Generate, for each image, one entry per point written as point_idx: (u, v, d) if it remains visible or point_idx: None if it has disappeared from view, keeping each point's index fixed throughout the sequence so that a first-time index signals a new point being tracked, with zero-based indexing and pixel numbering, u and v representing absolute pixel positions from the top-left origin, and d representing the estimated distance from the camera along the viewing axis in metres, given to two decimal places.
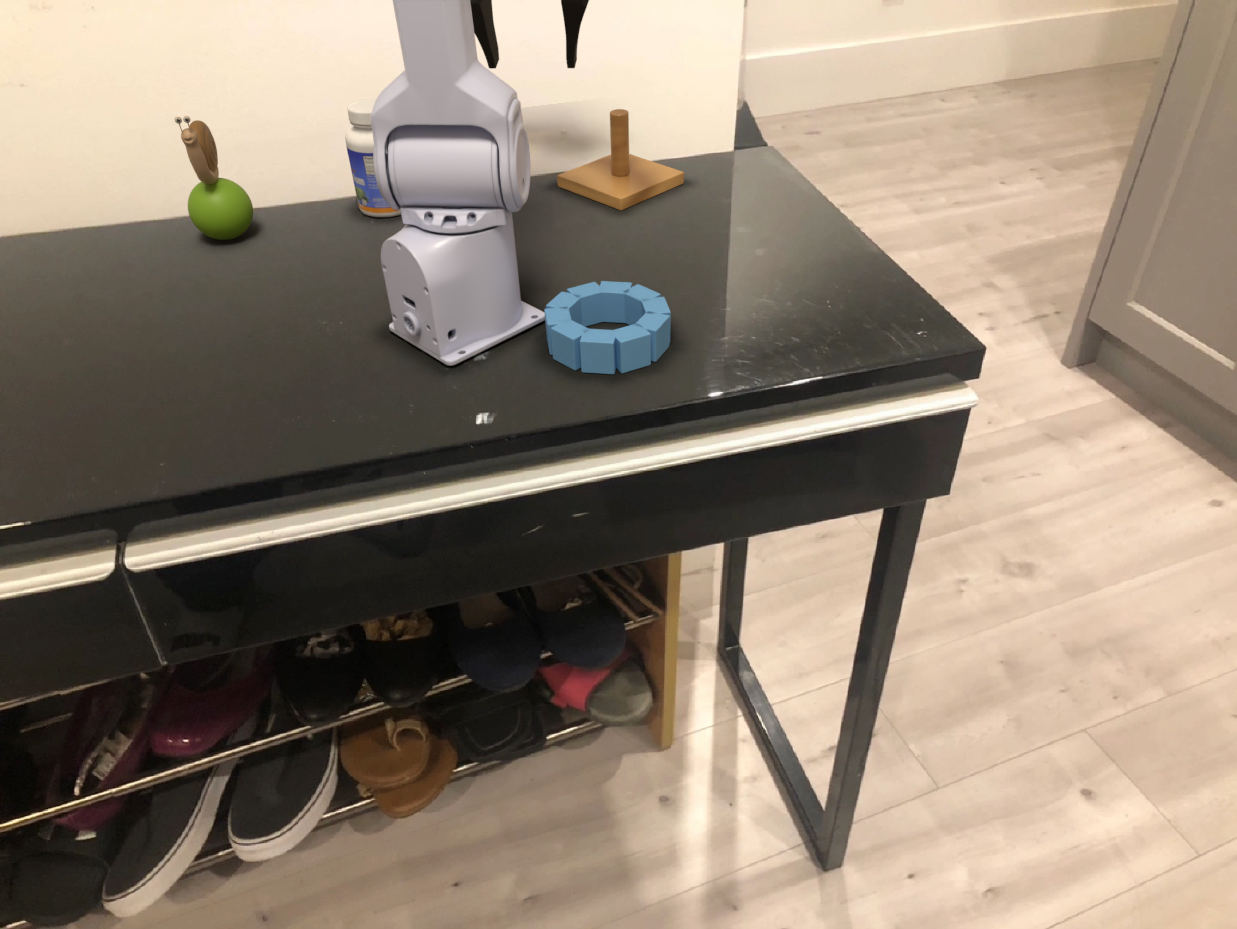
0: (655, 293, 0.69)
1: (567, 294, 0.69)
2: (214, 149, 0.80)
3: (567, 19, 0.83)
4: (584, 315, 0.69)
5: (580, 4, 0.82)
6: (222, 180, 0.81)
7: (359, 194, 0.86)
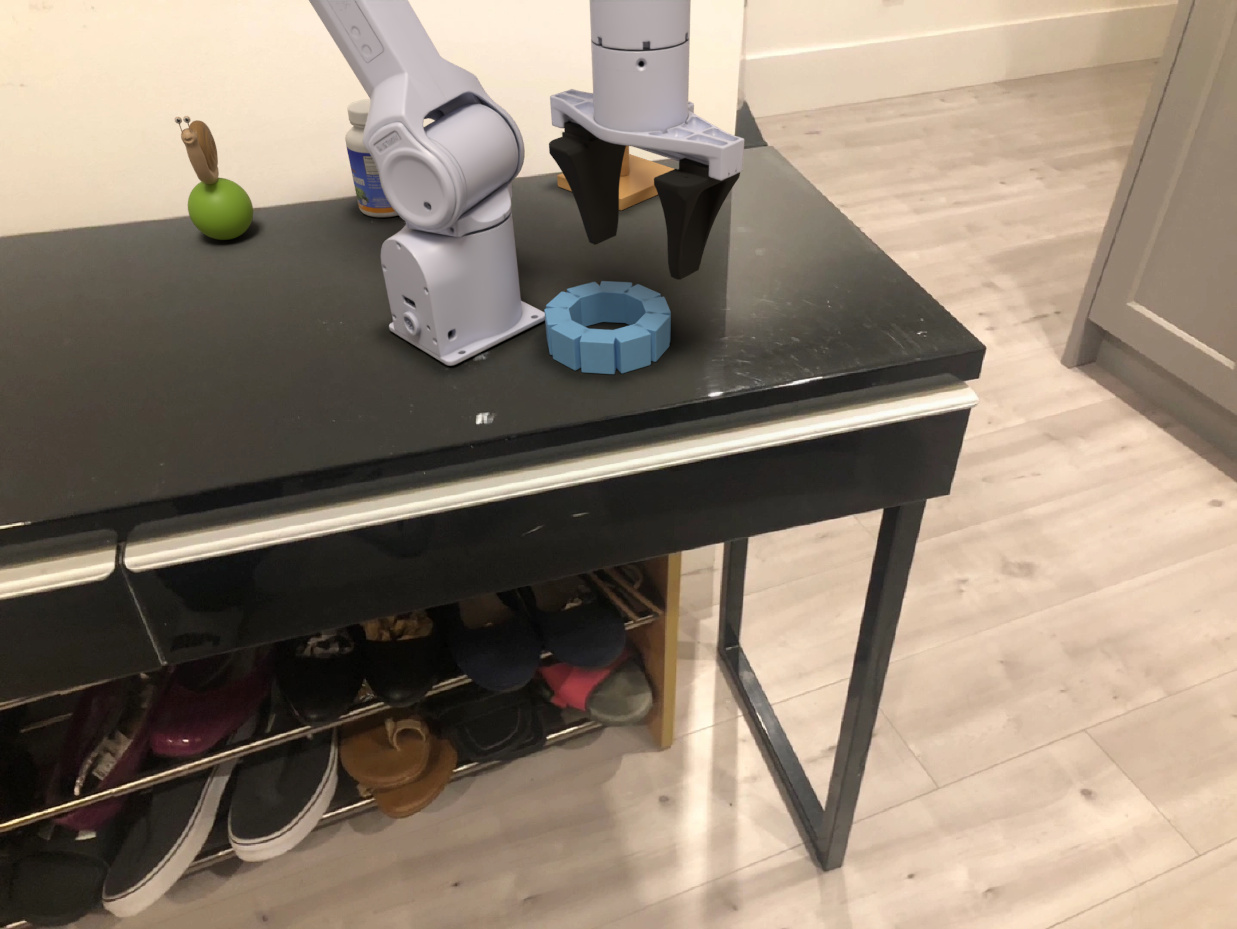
0: (655, 293, 0.69)
1: (567, 294, 0.69)
2: (214, 149, 0.80)
3: (666, 210, 0.55)
4: (584, 315, 0.69)
5: (676, 194, 0.53)
6: (222, 180, 0.81)
7: (359, 194, 0.86)
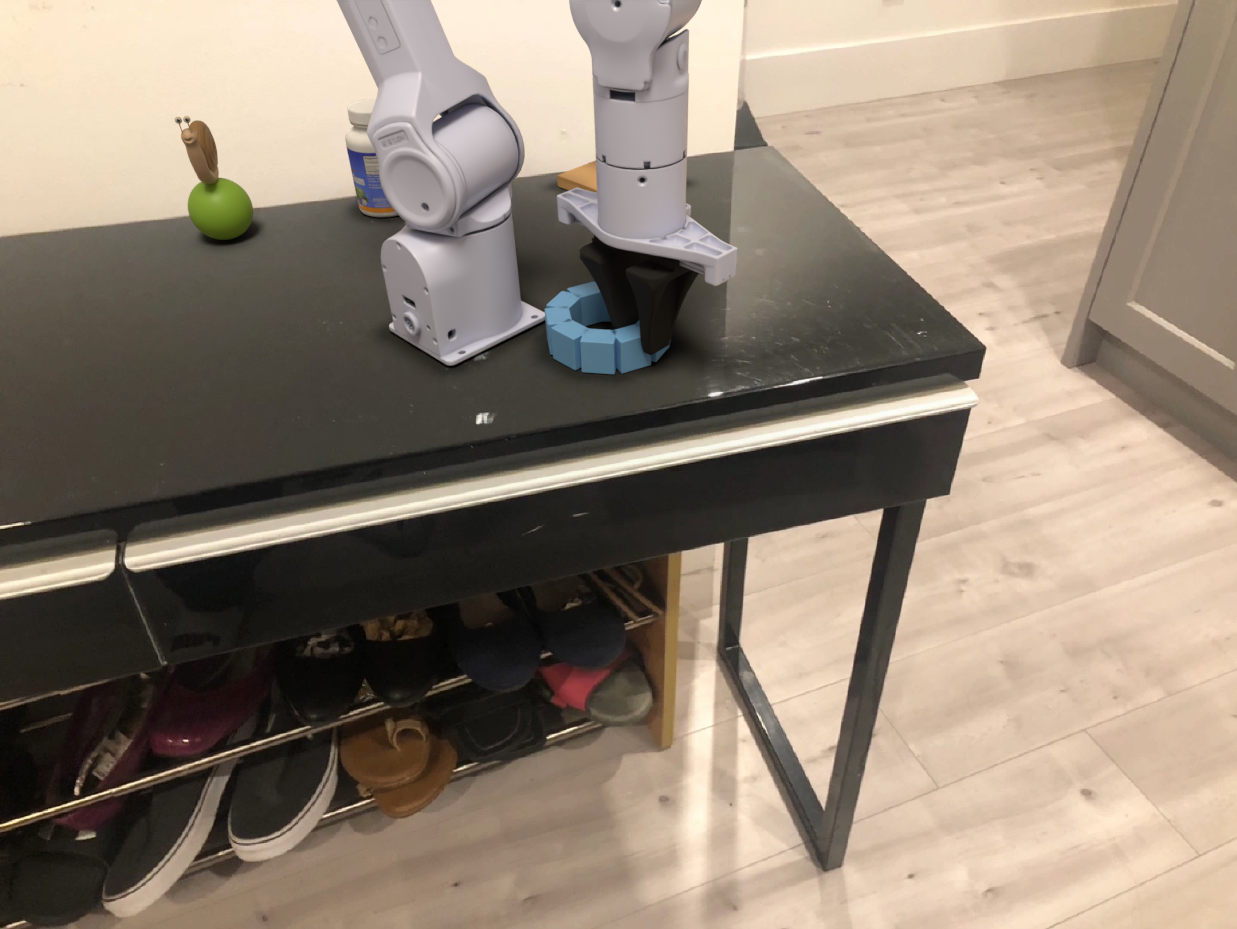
0: None
1: (567, 294, 0.69)
2: (214, 149, 0.80)
3: (637, 296, 0.60)
4: (585, 315, 0.69)
5: (646, 285, 0.58)
6: (222, 180, 0.81)
7: (359, 194, 0.86)
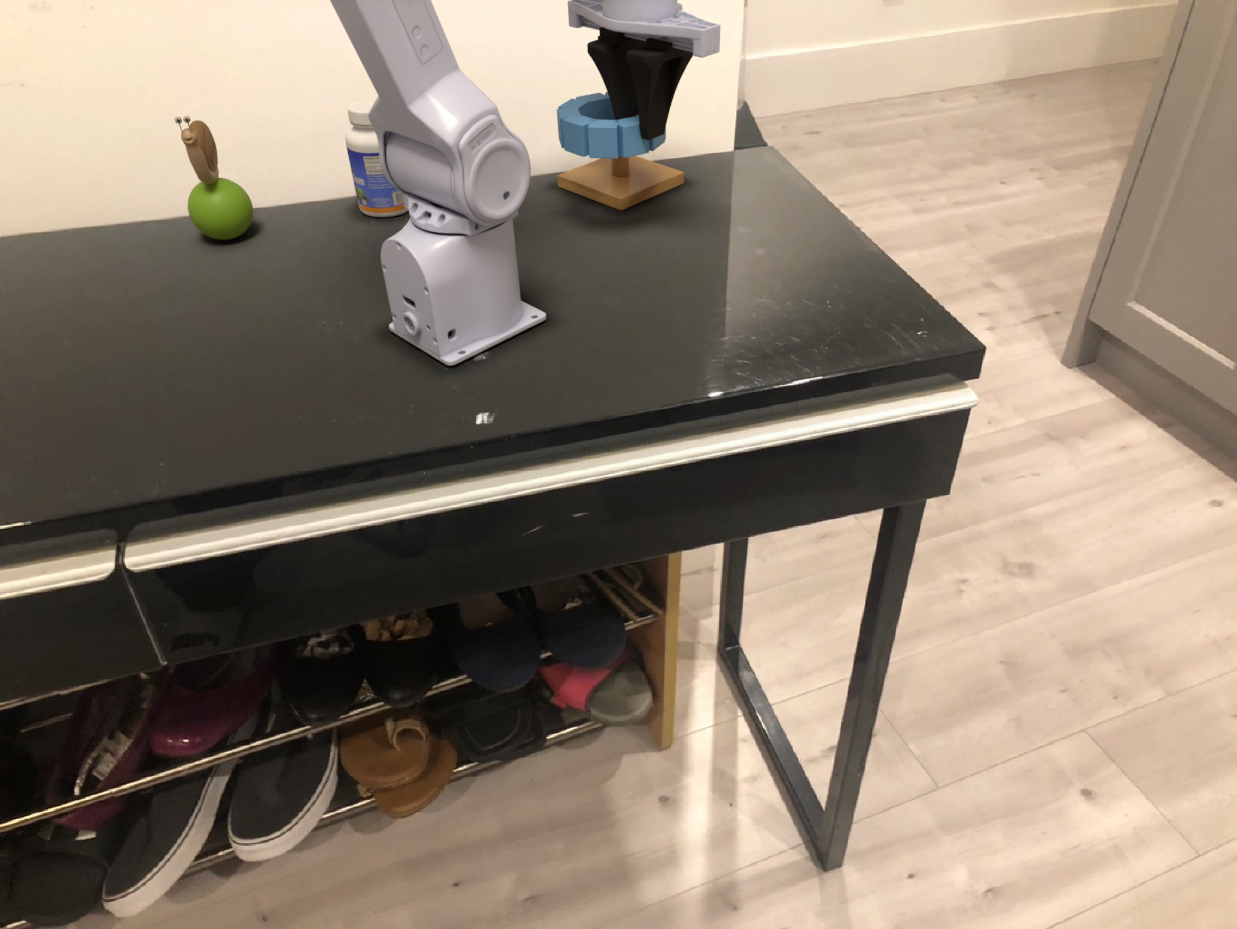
0: None
1: (576, 100, 0.79)
2: (214, 149, 0.80)
3: (636, 79, 0.71)
4: None
5: (643, 62, 0.69)
6: (222, 180, 0.81)
7: (359, 194, 0.86)
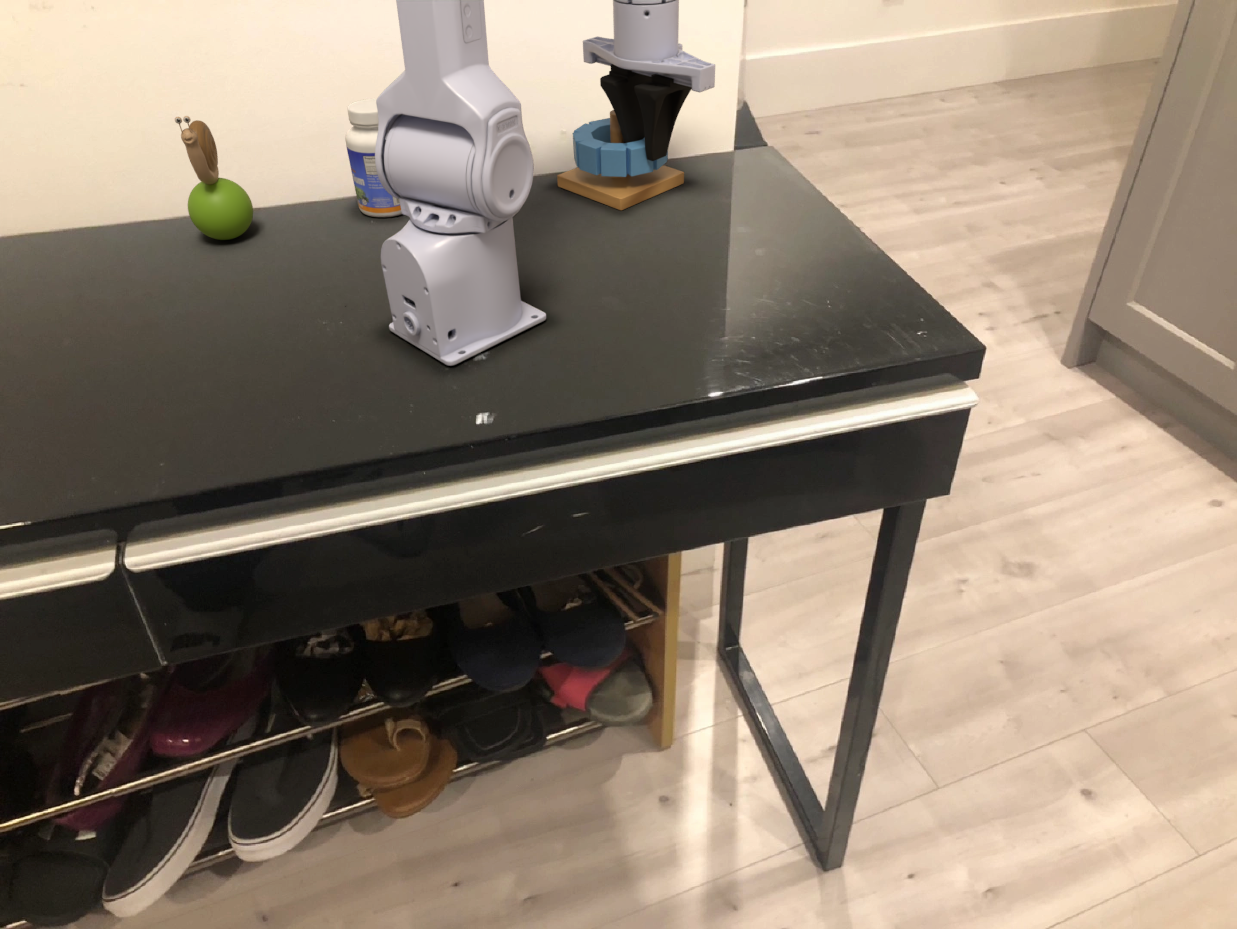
0: None
1: (589, 124, 0.90)
2: (214, 149, 0.80)
3: (643, 109, 0.82)
4: (602, 142, 0.91)
5: (649, 96, 0.80)
6: (222, 180, 0.81)
7: (359, 194, 0.86)
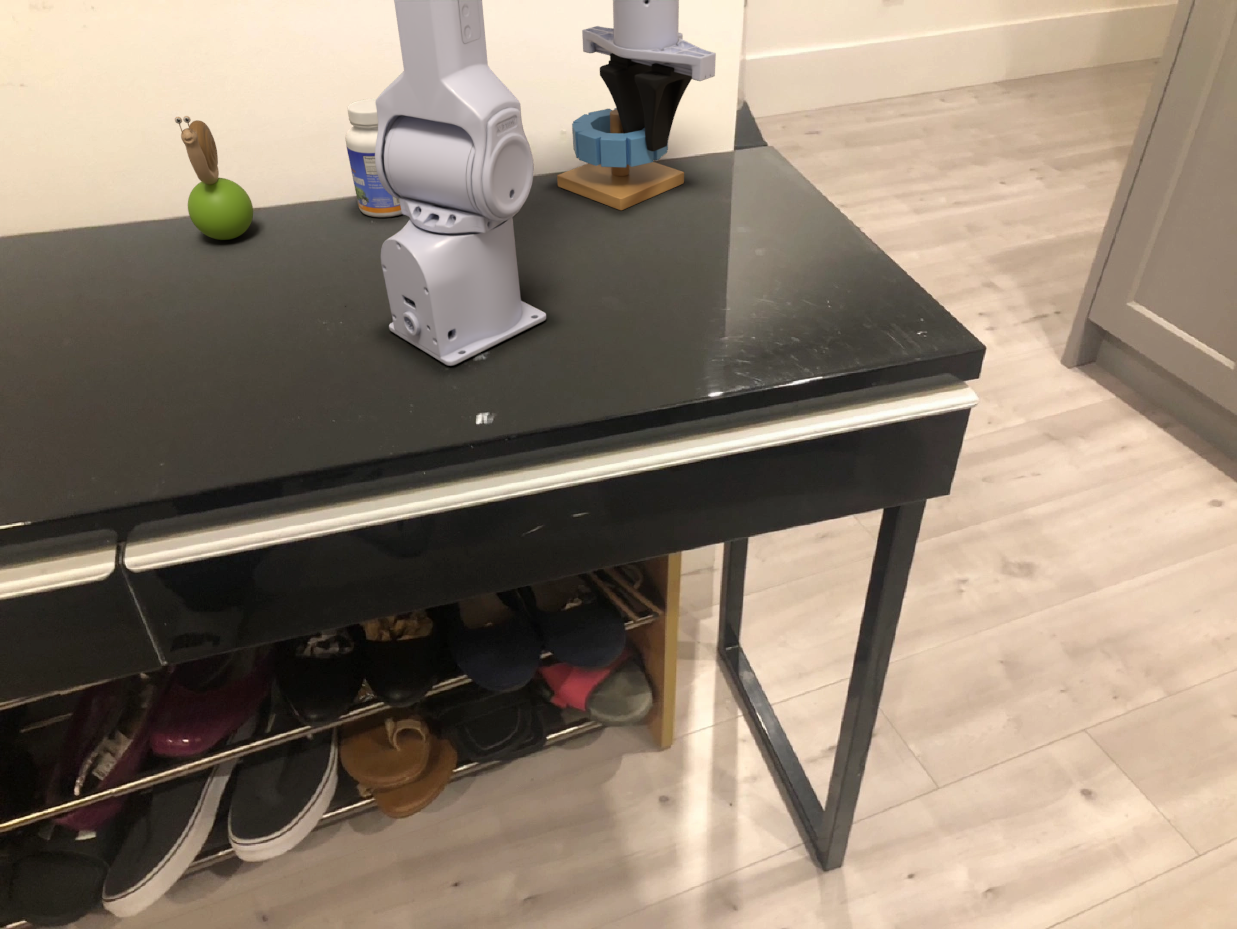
0: None
1: (588, 115, 0.90)
2: (214, 149, 0.80)
3: (643, 98, 0.82)
4: None
5: (649, 85, 0.79)
6: (222, 180, 0.81)
7: (359, 194, 0.86)
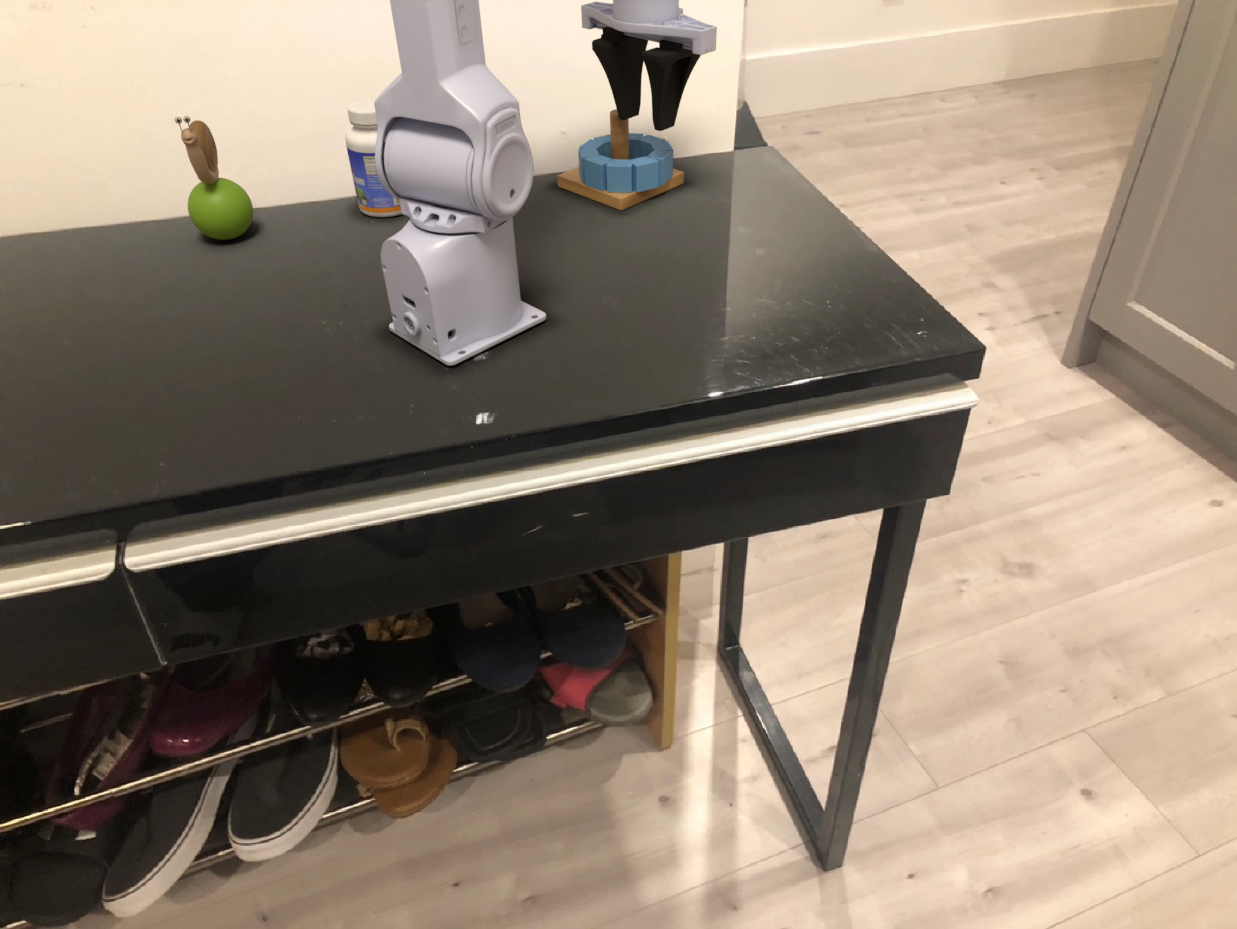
0: (661, 139, 0.91)
1: (594, 140, 0.91)
2: (214, 149, 0.80)
3: (650, 76, 0.80)
4: (607, 157, 0.92)
5: (657, 61, 0.78)
6: (222, 180, 0.81)
7: (359, 194, 0.86)
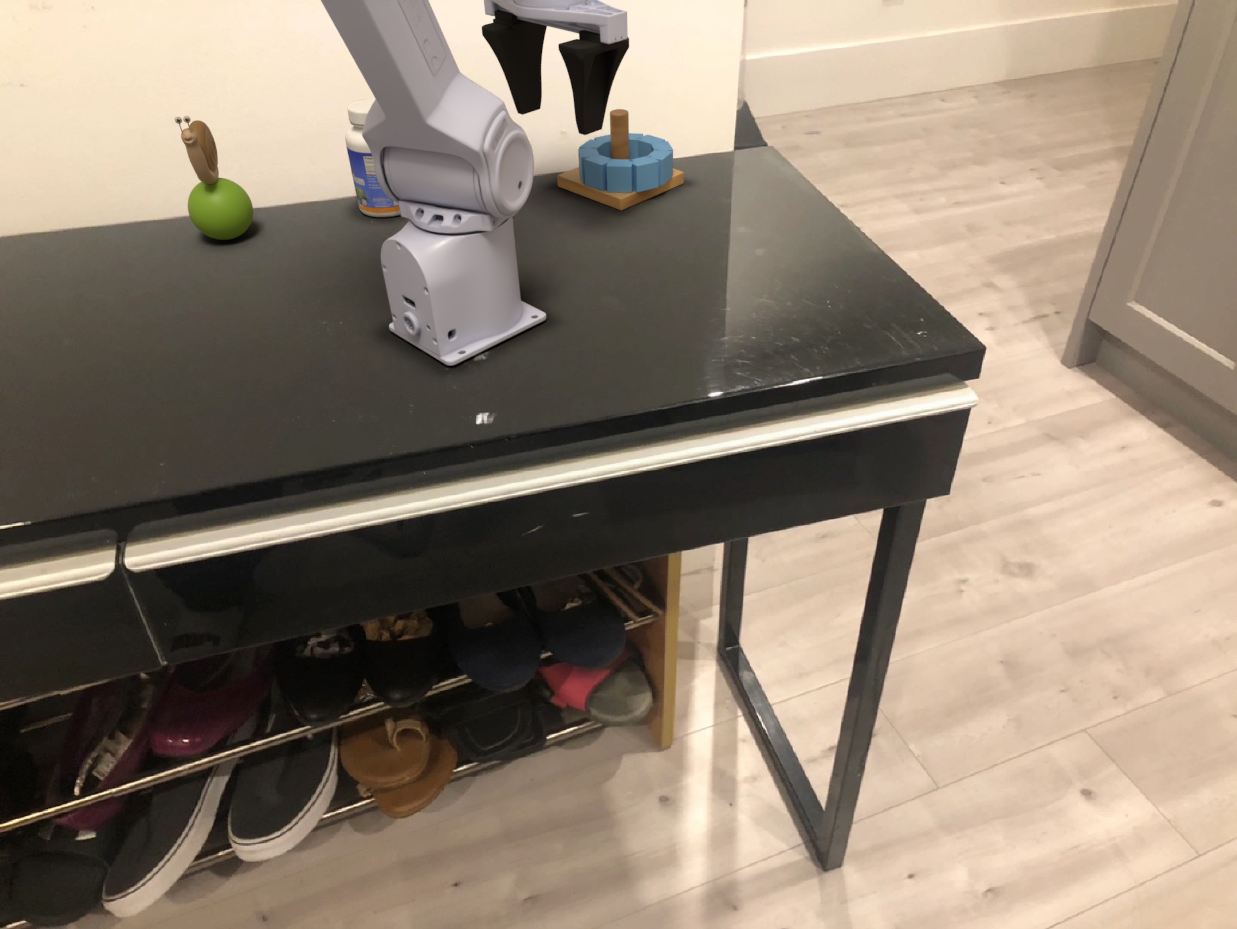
0: (661, 139, 0.91)
1: (594, 140, 0.91)
2: (214, 149, 0.80)
3: (570, 72, 0.69)
4: (607, 157, 0.92)
5: (575, 55, 0.67)
6: (222, 180, 0.81)
7: (359, 194, 0.86)
